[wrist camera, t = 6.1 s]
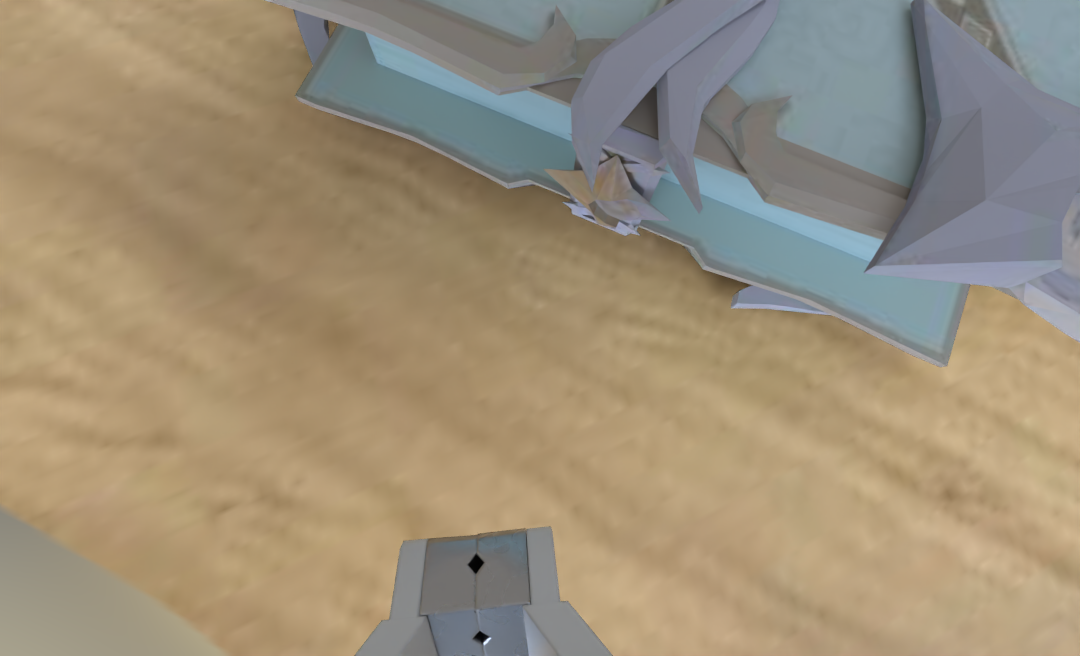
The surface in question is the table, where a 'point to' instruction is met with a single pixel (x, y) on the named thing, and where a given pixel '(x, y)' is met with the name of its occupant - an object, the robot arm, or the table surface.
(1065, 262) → the ornate book
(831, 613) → the table surface
